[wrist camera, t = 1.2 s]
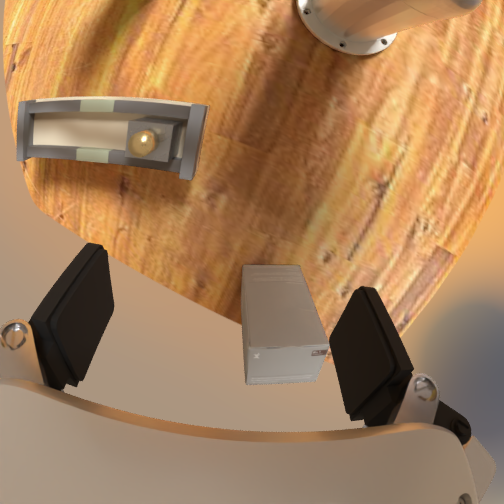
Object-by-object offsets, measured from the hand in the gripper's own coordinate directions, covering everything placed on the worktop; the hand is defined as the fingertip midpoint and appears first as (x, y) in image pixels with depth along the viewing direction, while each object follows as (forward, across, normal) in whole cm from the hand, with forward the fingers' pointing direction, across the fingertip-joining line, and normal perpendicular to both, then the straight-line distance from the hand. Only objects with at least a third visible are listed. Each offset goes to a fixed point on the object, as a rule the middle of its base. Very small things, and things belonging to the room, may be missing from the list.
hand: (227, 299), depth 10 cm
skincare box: (+24, -7, +17) cm, 30 cm away
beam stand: (+24, +15, -2) cm, 29 cm away
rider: (+19, +8, -2) cm, 21 cm away
